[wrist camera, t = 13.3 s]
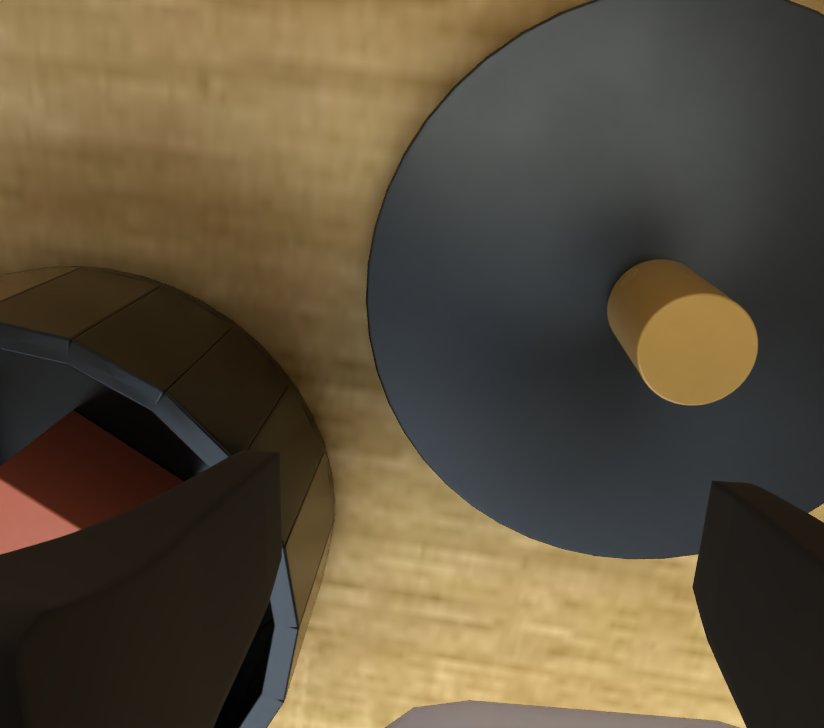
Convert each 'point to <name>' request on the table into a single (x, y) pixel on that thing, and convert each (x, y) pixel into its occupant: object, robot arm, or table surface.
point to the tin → (174, 422)
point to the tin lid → (615, 273)
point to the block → (72, 483)
